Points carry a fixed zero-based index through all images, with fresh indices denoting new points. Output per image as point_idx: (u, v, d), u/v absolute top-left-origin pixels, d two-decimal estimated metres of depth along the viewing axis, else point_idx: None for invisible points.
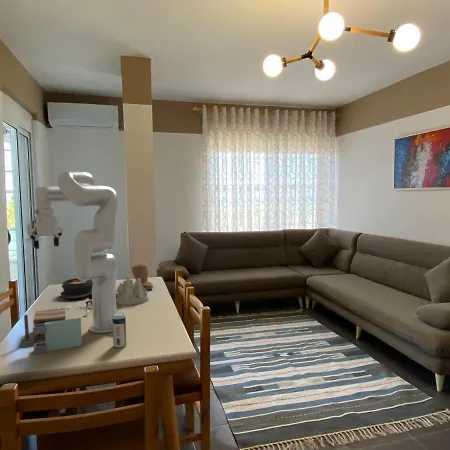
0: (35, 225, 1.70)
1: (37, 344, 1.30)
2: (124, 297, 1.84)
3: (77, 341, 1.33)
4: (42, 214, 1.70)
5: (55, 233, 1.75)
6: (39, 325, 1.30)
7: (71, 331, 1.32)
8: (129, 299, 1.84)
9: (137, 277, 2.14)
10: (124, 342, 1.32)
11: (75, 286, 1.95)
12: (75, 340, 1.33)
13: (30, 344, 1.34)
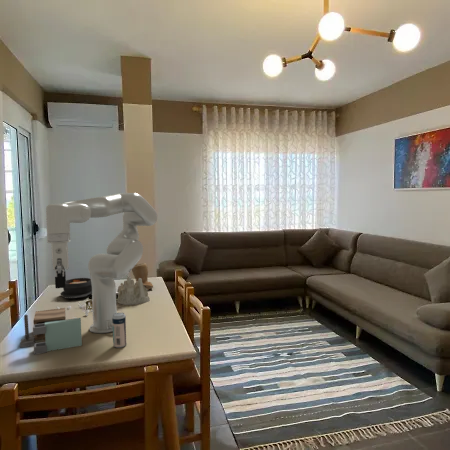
0: (59, 256, 1.25)
1: (37, 344, 1.30)
2: (125, 297, 1.84)
3: (77, 341, 1.33)
4: (66, 240, 1.28)
5: None
6: (39, 325, 1.30)
7: (71, 331, 1.32)
8: (130, 299, 1.85)
9: (137, 277, 2.14)
10: (124, 342, 1.32)
11: (75, 286, 1.95)
12: (75, 340, 1.33)
13: (30, 344, 1.34)
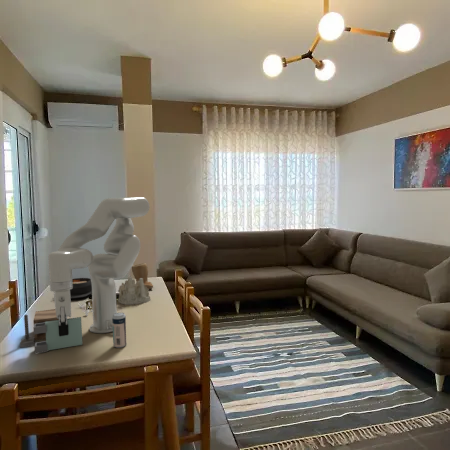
0: (62, 304, 1.26)
1: (38, 343, 1.30)
2: (126, 297, 1.85)
3: (78, 340, 1.33)
4: (69, 288, 1.29)
5: None
6: (40, 324, 1.30)
7: (72, 330, 1.32)
8: (131, 298, 1.85)
9: (137, 277, 2.14)
10: (124, 342, 1.32)
11: (75, 286, 1.95)
12: (76, 339, 1.33)
13: (30, 344, 1.34)
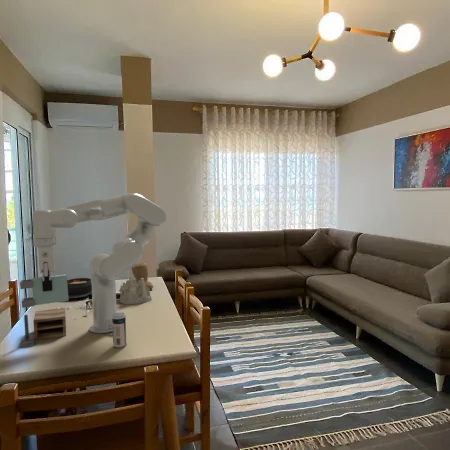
0: (46, 260, 1.31)
1: (25, 299, 1.35)
2: (128, 296, 1.85)
3: (64, 296, 1.38)
4: (52, 244, 1.34)
5: None
6: (26, 281, 1.35)
7: (57, 286, 1.37)
8: (132, 298, 1.85)
9: (137, 277, 2.14)
10: (124, 342, 1.32)
11: (75, 286, 1.95)
12: (62, 295, 1.38)
13: (30, 344, 1.34)
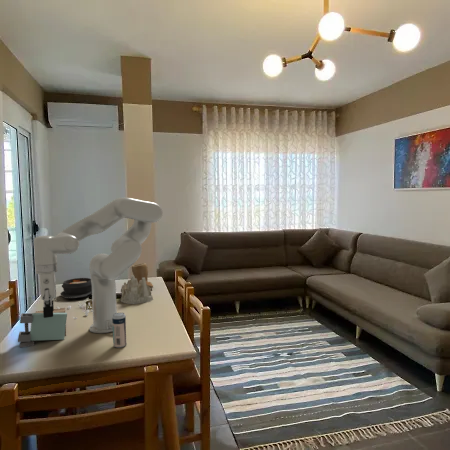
0: (47, 286, 1.32)
1: (22, 332, 1.35)
2: (129, 296, 1.86)
3: (60, 335, 1.39)
4: (54, 271, 1.35)
5: None
6: (27, 314, 1.36)
7: (56, 324, 1.38)
8: (134, 298, 1.86)
9: (137, 277, 2.14)
10: (124, 342, 1.32)
11: (75, 286, 1.95)
12: (59, 333, 1.39)
13: (30, 344, 1.34)
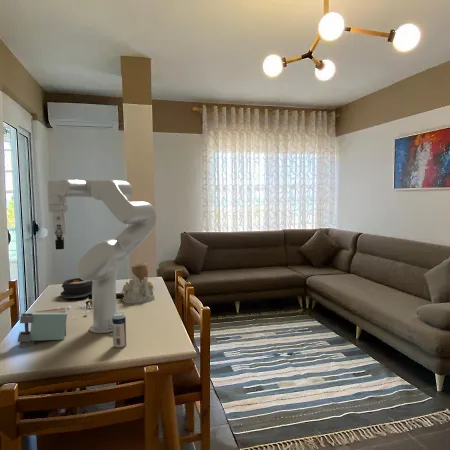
0: (59, 223, 1.51)
1: (22, 332, 1.35)
2: (131, 296, 1.86)
3: (60, 335, 1.39)
4: (64, 210, 1.54)
5: None
6: (27, 314, 1.36)
7: (56, 324, 1.38)
8: (136, 297, 1.87)
9: (137, 277, 2.14)
10: (124, 342, 1.32)
11: (75, 286, 1.95)
12: (59, 333, 1.39)
13: (30, 344, 1.34)
